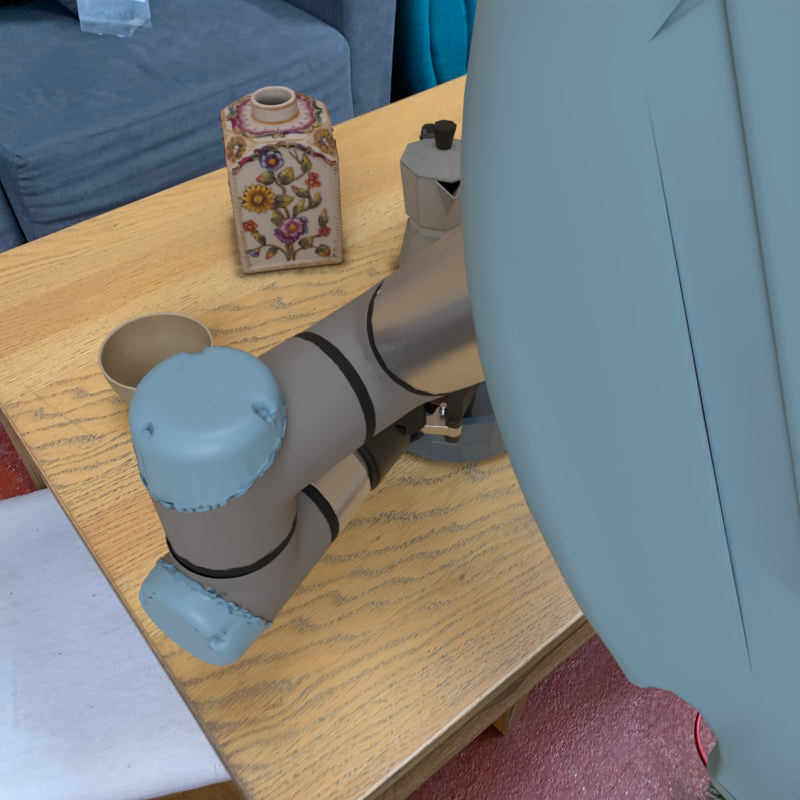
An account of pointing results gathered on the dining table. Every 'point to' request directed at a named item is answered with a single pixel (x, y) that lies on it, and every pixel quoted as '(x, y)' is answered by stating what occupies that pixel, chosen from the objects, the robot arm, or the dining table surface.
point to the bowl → (466, 436)
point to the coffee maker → (430, 188)
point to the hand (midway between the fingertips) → (483, 281)
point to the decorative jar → (283, 180)
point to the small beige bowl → (148, 347)
